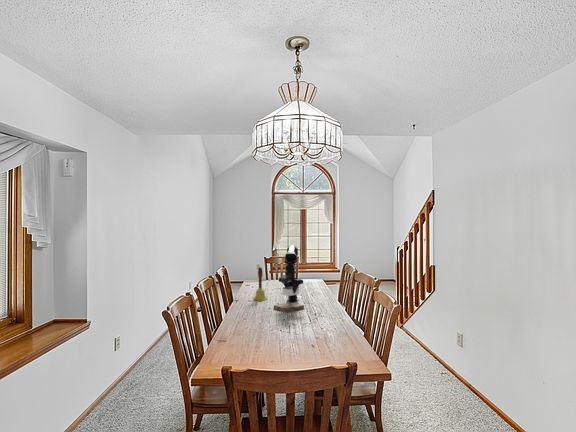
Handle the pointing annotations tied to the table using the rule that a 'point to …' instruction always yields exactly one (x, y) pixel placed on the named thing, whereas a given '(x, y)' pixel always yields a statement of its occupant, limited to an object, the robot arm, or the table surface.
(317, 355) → the table surface
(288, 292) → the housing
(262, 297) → the handbell
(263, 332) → the table surface
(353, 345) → the table surface
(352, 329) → the table surface
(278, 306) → the walnut stand
